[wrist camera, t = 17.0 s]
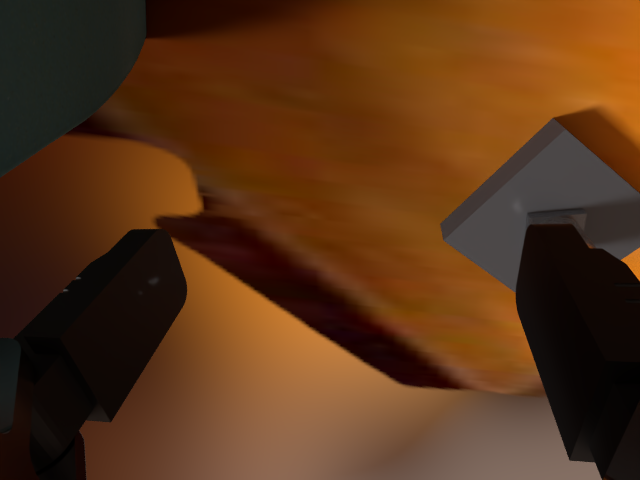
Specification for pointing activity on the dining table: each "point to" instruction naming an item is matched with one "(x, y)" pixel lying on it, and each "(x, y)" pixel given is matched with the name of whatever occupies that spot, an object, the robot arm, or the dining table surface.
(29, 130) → the flower pot
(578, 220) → the salt shaker
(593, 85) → the dining table surface
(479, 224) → the slate block
